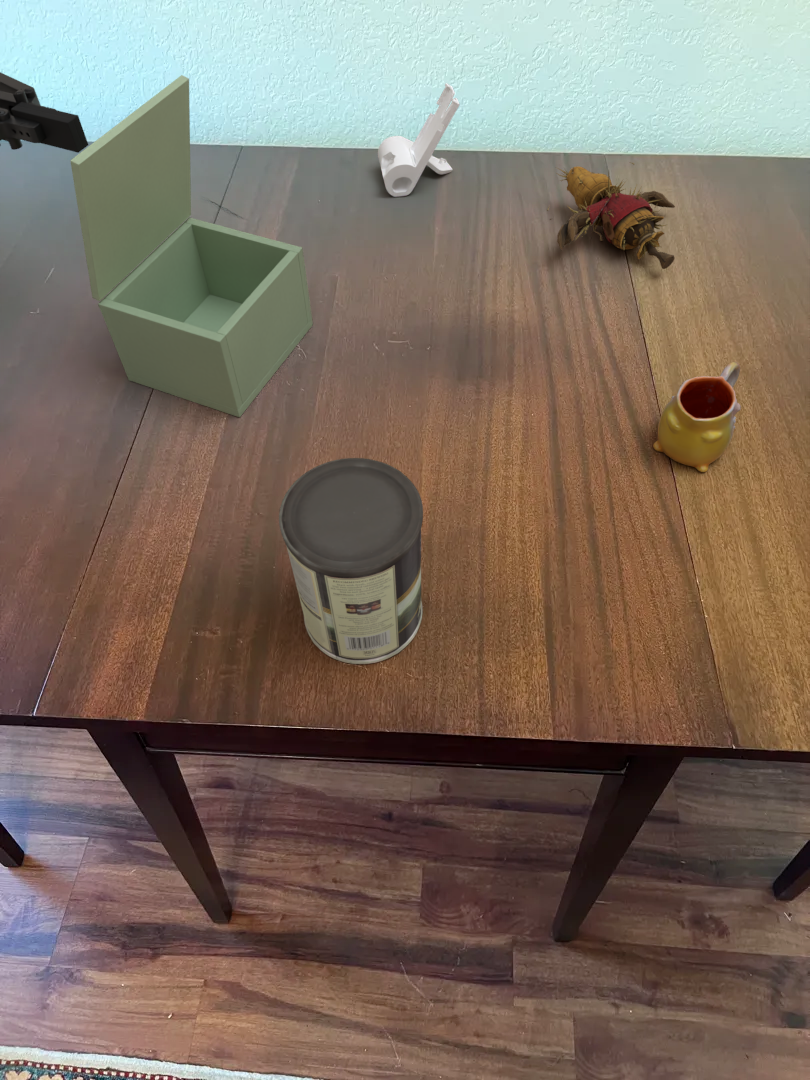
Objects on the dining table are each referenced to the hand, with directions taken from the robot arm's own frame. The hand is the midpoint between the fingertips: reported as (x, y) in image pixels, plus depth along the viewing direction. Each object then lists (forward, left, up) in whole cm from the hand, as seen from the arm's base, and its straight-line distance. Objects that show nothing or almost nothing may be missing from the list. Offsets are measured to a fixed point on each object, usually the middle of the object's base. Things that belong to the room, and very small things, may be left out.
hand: (78, 134), depth 71 cm
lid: (+5, -2, -4) cm, 7 cm away
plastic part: (+29, +32, -22) cm, 49 cm away
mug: (+60, -12, -22) cm, 66 cm away
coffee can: (+29, -36, -22) cm, 51 cm away
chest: (+10, -4, -22) cm, 24 cm away
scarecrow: (+54, +20, -22) cm, 62 cm away
